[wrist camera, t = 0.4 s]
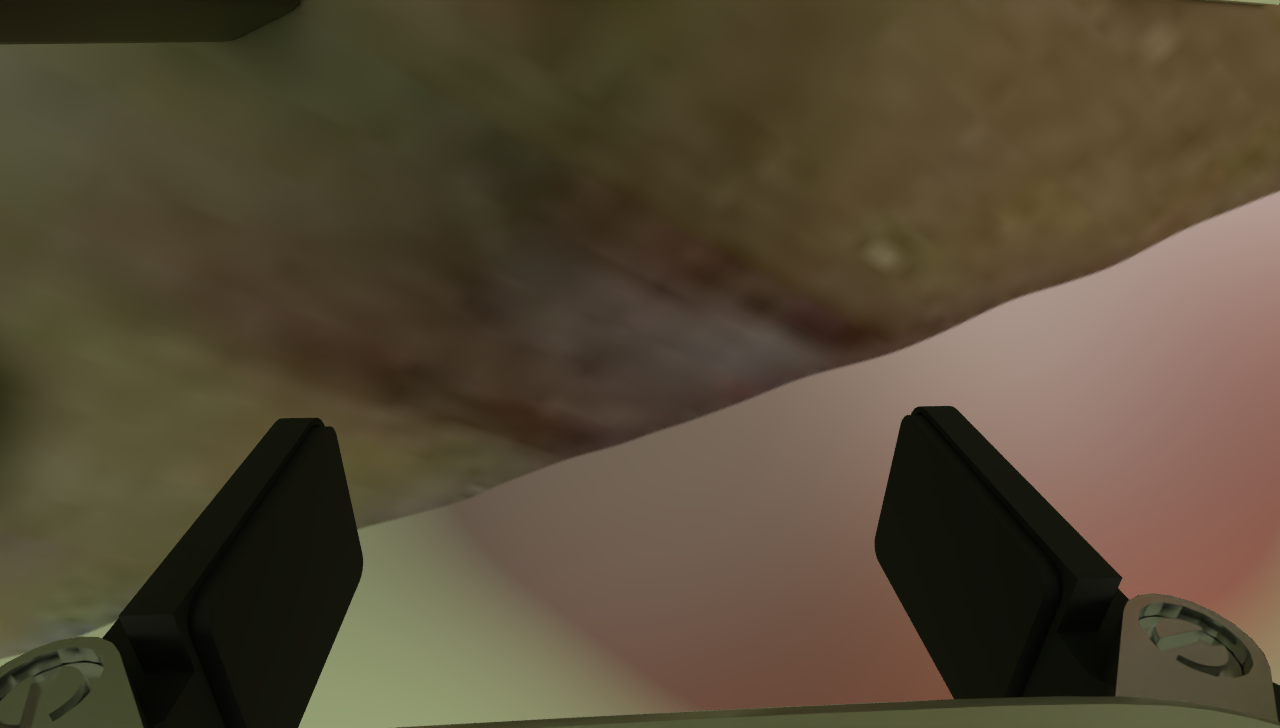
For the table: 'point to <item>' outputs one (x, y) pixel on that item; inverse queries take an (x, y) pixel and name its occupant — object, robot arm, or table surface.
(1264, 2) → the valve
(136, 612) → the robot arm
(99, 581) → the table surface
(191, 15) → the wine bottle
